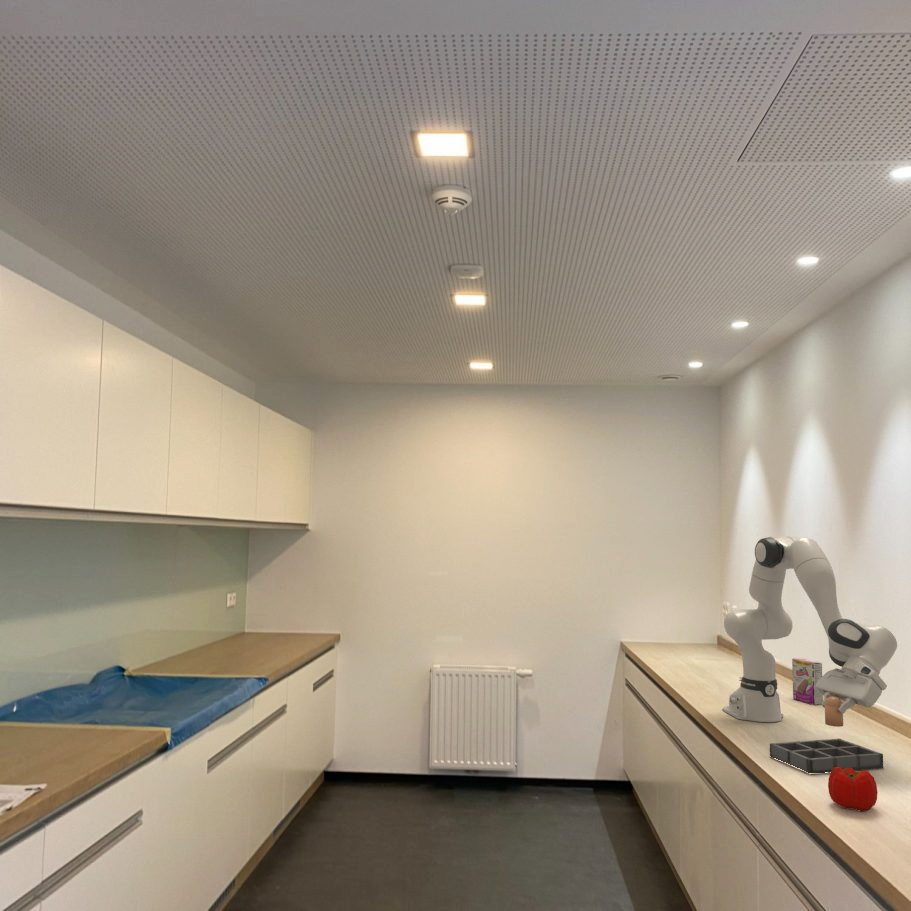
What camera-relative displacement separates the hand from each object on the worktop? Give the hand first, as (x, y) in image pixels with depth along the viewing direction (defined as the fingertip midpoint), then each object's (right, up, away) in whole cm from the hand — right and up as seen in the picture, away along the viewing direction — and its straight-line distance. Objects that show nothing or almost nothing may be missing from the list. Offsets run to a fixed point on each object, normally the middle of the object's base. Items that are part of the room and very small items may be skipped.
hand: (831, 709), depth 230 cm
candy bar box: (+31, -25, +84) cm, 93 cm away
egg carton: (-1, -17, +3) cm, 17 cm away
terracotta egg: (+1, -4, 0) cm, 4 cm away
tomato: (-11, -13, -34) cm, 39 cm away
